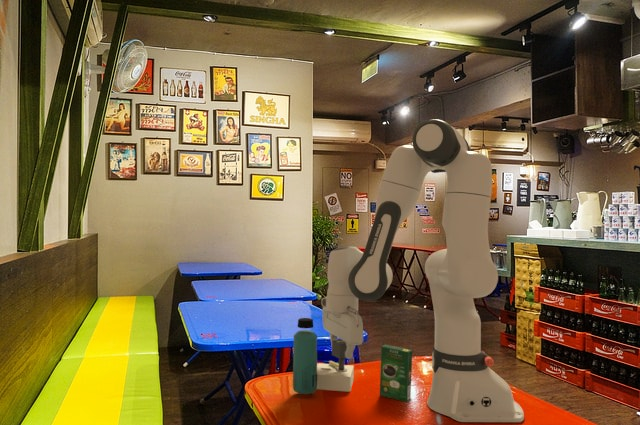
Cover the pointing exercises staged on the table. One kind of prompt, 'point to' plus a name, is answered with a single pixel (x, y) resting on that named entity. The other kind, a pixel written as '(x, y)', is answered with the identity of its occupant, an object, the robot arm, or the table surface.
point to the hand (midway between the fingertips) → (341, 353)
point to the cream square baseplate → (334, 377)
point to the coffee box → (395, 373)
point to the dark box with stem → (339, 353)
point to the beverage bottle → (305, 358)
